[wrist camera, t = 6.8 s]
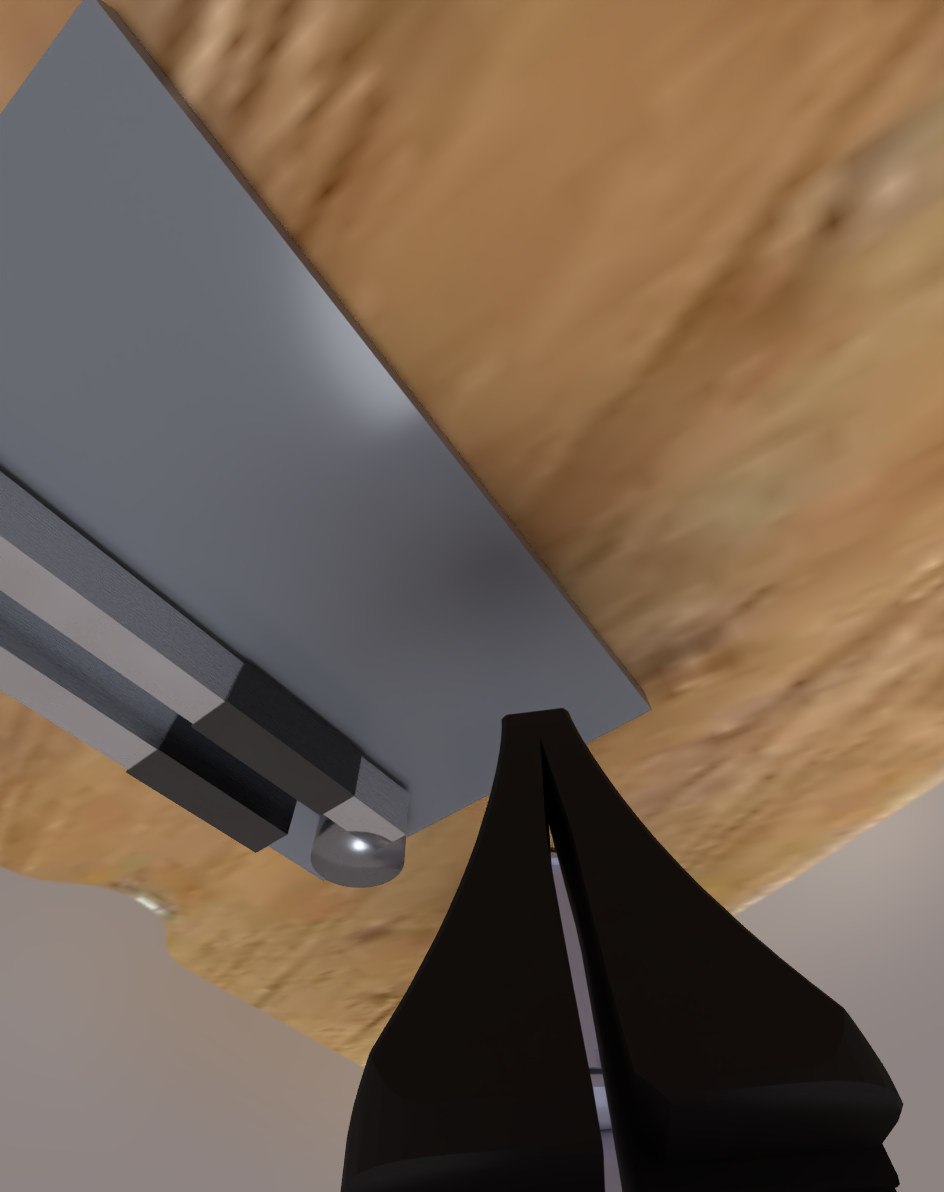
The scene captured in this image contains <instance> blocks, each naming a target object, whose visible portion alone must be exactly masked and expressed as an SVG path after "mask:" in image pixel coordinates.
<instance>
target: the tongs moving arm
mask: <svg viewBox="0 0 944 1192" xmlns="http://www.w3.org/2000/svg"><path fill="white" fill-rule="evenodd" d="M0 590H1V591H2V592H4V593H5V594H6V595H8V596H9V597H11V598H12V599H14V600H15V601H17V602H18V603H19V604H21V605H22V606H24V607H25V608H27V609H28V610H30V611H31V612H32V613H34V614H35V615H37V616H38V617H40V618H41V619H43V620H44V621H45V622H47V623H48V624H50V625H51V626H53V627H54V628H55V629H57V630H58V631H60V632H61V633H63V634H64V635H66V636H67V637H68V638H70V639H71V640H73V641H74V642H76V643H77V644H79V645H80V646H81V647H83V648H84V649H86V650H87V651H89V652H90V653H91V654H93V655H94V656H96V657H97V658H99V659H100V660H102V661H103V662H104V663H106V664H107V665H109V666H110V667H112V668H113V669H115V670H116V671H117V672H119V673H120V674H122V675H123V676H125V677H126V678H128V679H129V680H130V681H132V682H133V683H135V684H136V685H138V686H139V687H140V688H142V689H143V690H145V691H146V692H148V693H149V694H151V695H152V696H153V697H155V698H156V699H158V700H159V701H161V702H162V703H164V704H165V705H166V706H168V707H169V708H171V709H172V710H174V711H175V712H176V713H178V714H179V715H181V716H182V717H184V718H185V719H187V720H188V721H189V722H191V723H192V725H191V727H192V728H194V729H195V730H196V731H198V732H199V733H201V734H202V735H204V736H205V737H207V738H208V739H209V740H211V741H212V742H214V743H215V744H217V745H218V746H220V747H221V748H222V749H224V750H225V751H227V752H228V753H230V754H231V755H233V756H234V757H236V758H237V759H238V760H240V761H241V762H243V763H244V764H246V765H247V766H249V767H250V768H251V769H253V770H254V771H256V772H257V773H259V774H260V775H262V776H263V777H264V778H266V779H267V780H269V781H270V782H272V783H273V784H275V785H276V786H278V787H279V788H280V789H282V790H283V791H285V792H286V793H288V794H289V795H291V796H292V797H293V798H295V799H296V800H298V801H299V802H301V803H302V804H304V805H305V806H307V807H308V808H309V809H311V810H312V811H314V812H315V813H317V814H318V815H320V816H319V821H318V825H317V829H316V834H315V838H314V842H313V847H312V851H311V857H310V859H311V864H312V866H313V868H314V869H315V871H316V872H317V873H318V874H319V875H320V876H322V877H323V878H325V879H326V880H328V881H330V882H333V883H335V884H338V885H342V886H347V887H356V888H363V887H372V886H377V885H381V884H384V883H386V882H388V881H390V880H392V879H393V878H395V877H396V876H397V875H398V874H399V873H400V872H401V870H402V868H403V865H404V857H405V844H406V830H407V813H408V799H409V793H408V792H407V791H405V790H404V789H403V788H402V787H400V786H399V785H398V784H396V783H395V782H394V781H393V780H391V779H390V778H389V777H388V776H386V775H385V774H384V773H383V772H381V771H380V770H379V769H377V768H376V767H375V766H374V765H372V764H371V763H370V762H369V761H367V760H366V759H365V758H364V757H362V752H361V751H359V750H358V749H357V748H355V747H354V746H353V745H352V744H350V743H349V742H348V741H347V740H345V739H344V738H343V737H342V736H340V735H339V734H338V733H337V732H335V731H334V730H333V729H331V728H330V727H329V726H328V725H326V724H325V723H324V722H323V721H321V720H320V719H319V718H318V717H316V716H315V715H314V714H313V713H311V712H310V711H309V710H308V709H306V708H305V707H304V706H302V705H301V704H300V703H299V702H297V701H296V700H295V699H294V698H292V697H291V696H290V695H289V694H287V693H286V692H285V691H284V690H282V689H281V688H280V687H279V686H277V685H276V684H275V683H273V682H272V681H271V680H270V679H268V678H267V677H266V676H265V675H263V674H262V673H261V672H260V671H258V670H257V669H256V668H255V667H253V666H252V665H251V664H249V663H248V662H247V661H246V662H245V663H243V662H242V661H241V660H239V659H238V658H237V657H235V656H234V655H233V654H232V653H230V652H229V651H228V650H227V649H225V648H224V647H223V646H222V645H220V644H219V643H218V642H216V641H215V640H214V639H213V638H211V637H210V636H209V635H208V634H206V633H205V632H204V631H202V630H201V629H200V628H199V627H197V626H196V625H195V624H194V623H192V622H191V621H190V620H189V619H187V618H186V617H185V616H183V615H182V614H181V613H180V612H178V611H177V610H176V609H175V608H173V607H172V606H171V605H170V604H168V603H167V602H166V601H164V600H163V599H162V598H161V597H159V596H158V595H157V594H156V593H154V592H153V591H152V590H150V589H149V588H148V587H147V586H145V585H144V584H143V583H142V582H140V581H139V580H138V579H137V578H135V577H134V576H133V575H131V574H130V573H129V572H128V571H126V570H125V569H124V568H123V567H121V566H120V565H119V564H118V563H116V562H115V561H114V560H112V559H111V558H110V557H109V556H107V555H106V554H105V553H104V552H102V551H101V550H100V549H99V548H97V547H96V546H95V545H93V544H92V543H91V542H90V541H88V540H87V539H86V538H85V537H83V536H82V535H81V534H79V533H78V532H77V531H76V530H74V529H73V528H72V527H71V526H69V525H68V524H67V523H66V522H64V521H63V520H62V519H60V518H59V517H58V516H57V515H55V514H54V513H53V512H52V511H50V510H49V509H48V508H47V507H45V506H44V505H43V504H41V503H40V502H39V501H38V500H36V499H35V498H34V497H33V496H31V495H30V494H29V493H28V492H26V491H25V490H24V489H22V488H21V487H20V486H19V485H17V484H16V483H15V482H14V481H12V480H11V479H10V478H8V477H7V476H6V475H5V474H3V473H2V472H1V471H0Z"/></svg>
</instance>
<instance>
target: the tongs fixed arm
mask: <svg viewBox="0 0 944 1192" xmlns="http://www.w3.org/2000/svg"><path fill="white" fill-rule="evenodd" d="M0 690H1V691H3V692H4V693H6V694H8V695H9V696H11V697H12V698H14V699H16V700H17V701H19V702H21V703H22V704H24V705H25V706H27V707H29V708H30V709H32V710H33V711H35V712H37V713H38V714H40V715H41V716H43V717H45V718H46V719H48V720H49V721H51V722H53V723H54V724H56V725H57V726H59V727H61V728H62V729H64V730H65V731H67V732H69V733H70V734H72V735H73V736H75V737H77V738H78V739H80V740H81V741H83V742H85V743H86V744H88V745H89V746H91V747H93V748H94V749H96V750H97V751H99V752H101V753H102V754H104V755H105V756H107V757H109V758H110V759H112V760H113V761H115V762H117V763H118V764H120V765H121V766H123V767H125V768H126V769H128V770H127V771H126V773H128V774H130V775H131V776H133V777H135V778H136V779H138V780H139V781H141V782H143V783H144V784H146V785H147V786H149V787H151V788H152V789H154V790H155V791H157V792H159V793H160V794H162V795H164V796H165V797H167V798H168V799H170V800H172V801H173V802H175V803H176V804H178V805H180V806H181V807H183V808H184V809H186V810H188V811H189V812H191V813H193V814H194V815H196V816H197V817H199V818H201V819H202V820H204V821H205V822H207V823H209V824H210V825H212V826H213V827H215V828H217V829H218V830H220V831H222V832H223V833H225V834H226V835H228V836H230V837H231V838H233V839H234V840H236V841H238V842H239V843H241V844H243V845H244V846H246V847H247V848H249V849H251V850H252V851H254V852H255V853H256V852H258V851H260V850H262V849H263V848H265V847H267V846H269V845H270V844H272V843H274V842H276V841H277V840H279V839H281V838H283V837H284V836H286V835H288V831H289V828H290V824H291V821H292V817H293V814H294V810H295V806H296V803H297V800H296V799H295V798H293V797H292V796H291V795H289V794H288V793H286V792H285V791H283V790H282V789H280V788H279V787H278V786H276V785H275V784H273V783H272V782H270V781H269V780H267V779H266V778H264V777H263V776H262V775H260V774H259V773H257V772H256V771H254V770H253V769H251V768H250V767H249V766H247V765H246V764H244V763H243V762H241V761H240V760H238V759H237V758H236V757H234V756H233V755H231V754H230V753H228V752H227V751H225V750H224V749H222V748H221V747H220V746H218V745H217V744H215V743H214V742H212V741H211V740H209V739H208V738H207V737H205V736H204V735H202V734H201V733H199V732H198V731H196V730H195V729H194V728H192V727H191V725H192V723H191V722H189V721H188V720H187V719H185V718H184V717H182V716H181V715H179V714H178V713H176V712H175V711H174V710H172V709H171V708H169V707H168V706H166V705H165V704H164V703H162V702H161V701H159V700H158V699H156V698H155V697H153V696H152V695H151V694H149V693H148V692H146V691H145V690H143V689H142V688H140V687H139V686H138V685H136V684H135V683H133V682H132V681H130V680H129V679H128V678H126V677H125V676H123V675H122V674H120V673H119V672H117V671H116V670H115V669H113V668H112V667H110V666H109V665H107V664H106V663H104V662H103V661H102V660H100V659H99V658H97V657H96V656H94V655H93V654H91V653H90V652H89V651H87V650H86V649H84V648H83V647H81V646H80V645H79V644H77V643H76V642H74V641H73V640H71V639H70V638H68V637H67V636H66V635H64V634H63V633H61V632H60V631H58V630H57V629H55V628H54V627H53V626H51V625H50V624H48V623H47V622H45V621H44V620H43V619H41V618H40V617H38V616H37V615H35V614H34V613H32V612H31V611H30V610H28V609H27V608H25V607H24V606H22V605H21V604H19V603H18V602H17V601H15V600H14V599H12V598H11V597H9V596H8V595H6V594H5V593H4V592H2V591H1V590H0Z"/></svg>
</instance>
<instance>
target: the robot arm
mask: <svg viewBox="0 0 944 1192" xmlns="http://www.w3.org/2000/svg"><path fill="white" fill-rule="evenodd" d="M501 723H502V731H501V743H500V750H499V756H498V762H497V768H496V772H495V776H494V781H493V785H492V789H491V793H490V797H489V801H488V805H487V808H486V811H485V814H484V818H483V821H482V824H481V827H480V831H479V834H478V837H477V840H476V843H475V846H474V849H473V851H472V854H471V857H470V860H469V862H468V865H467V867H466V870H465V872H464V875H463V877H462V880H461V882H460V885H459V887H458V889H457V892H456V894H455V896H454V898H453V901H452V903H451V905H450V907H449V910H448V912H447V914H446V917H445V919H444V921H443V923H442V925H441V927H440V929H439V931H438V933H437V935H436V937H435V939H434V941H433V943H432V945H431V947H430V949H429V951H428V952H427V954H426V956H425V958H424V960H423V962H422V964H421V966H420V968H419V970H418V971H417V973H416V975H415V977H414V979H413V981H412V983H411V985H410V986H409V988H408V990H407V992H406V993H405V995H404V997H403V999H402V1000H401V1002H400V1003H399V1005H398V1007H397V1008H396V1010H395V1012H394V1013H393V1015H392V1017H391V1018H390V1020H389V1022H388V1023H387V1025H386V1027H385V1028H384V1030H383V1031H382V1033H381V1035H380V1036H379V1038H378V1040H377V1041H376V1043H375V1045H374V1046H373V1048H372V1050H371V1052H370V1054H369V1057H368V1060H367V1063H366V1066H365V1069H364V1072H363V1075H362V1079H361V1082H360V1085H359V1088H358V1092H357V1095H356V1099H355V1103H354V1107H353V1111H352V1115H351V1120H350V1126H349V1130H348V1135H347V1142H346V1150H345V1159H344V1168H343V1177H342V1185H341V1192H897V1191H896V1189H895V1187H898V1185H899V1184H900V1183H899V1179H898V1175H897V1173H896V1171H895V1169H894V1167H893V1165H892V1163H891V1161H890V1159H889V1157H888V1155H887V1152H886V1150H885V1148H884V1146H883V1144H882V1143H883V1141H884V1140H885V1139H886V1137H887V1136H888V1135H889V1133H890V1132H891V1130H892V1129H893V1127H894V1126H895V1125H896V1123H897V1122H898V1119H899V1116H900V1114H901V1111H902V1107H903V1103H902V1100H901V1098H900V1096H899V1094H898V1092H897V1090H896V1088H895V1086H894V1084H893V1082H892V1080H891V1078H890V1076H889V1074H888V1072H887V1071H886V1069H885V1067H884V1066H883V1064H882V1063H881V1061H880V1059H879V1058H878V1056H877V1055H876V1053H875V1052H874V1050H873V1049H872V1047H871V1046H870V1044H869V1043H868V1041H867V1040H866V1038H865V1037H864V1035H863V1034H862V1032H861V1031H860V1030H859V1028H858V1027H857V1025H856V1024H855V1023H854V1021H853V1020H852V1018H851V1017H850V1016H849V1014H848V1013H847V1012H846V1010H845V1009H844V1008H843V1007H842V1006H840V1005H839V1004H838V1003H837V1002H835V1001H834V1000H833V999H832V998H830V997H829V996H828V995H826V994H825V993H824V992H822V991H821V990H820V989H819V988H817V987H816V986H815V985H813V984H812V983H811V982H809V981H808V980H807V979H806V978H805V977H803V976H802V975H801V974H800V973H798V972H797V971H796V970H795V969H793V968H792V967H791V966H790V965H788V964H787V963H786V962H785V961H784V960H782V959H781V958H780V957H779V956H778V955H776V954H775V953H774V952H773V951H772V950H771V949H769V948H768V947H767V946H766V945H765V944H764V943H762V942H761V941H760V940H759V939H758V938H757V937H755V936H754V935H753V934H752V933H751V932H750V931H748V930H747V929H746V928H745V927H744V926H743V925H742V924H741V923H740V922H739V921H737V920H736V919H735V918H734V917H733V916H732V915H731V914H730V913H729V912H728V911H727V910H726V909H725V908H724V907H722V906H721V905H720V904H719V903H718V902H717V901H716V900H715V899H714V898H713V897H712V896H711V895H710V894H708V893H707V892H706V891H705V890H704V889H703V888H702V887H701V886H700V885H699V884H698V883H697V882H696V881H695V880H694V879H693V878H692V877H691V876H690V875H689V874H688V873H687V872H686V871H685V870H684V869H683V868H682V867H681V865H680V864H679V863H678V862H677V861H676V860H675V859H674V858H673V857H672V856H671V855H670V854H669V853H668V852H667V850H666V849H665V848H664V847H663V846H662V845H661V844H660V843H659V842H658V841H657V839H656V838H655V837H654V836H653V835H652V834H651V832H650V831H649V830H648V829H647V828H646V827H645V825H644V824H643V823H642V822H641V821H640V819H639V818H638V817H637V816H636V814H635V813H634V812H633V811H632V809H631V808H630V807H629V806H628V804H627V803H626V802H625V800H624V799H623V798H622V797H621V795H620V794H619V793H618V791H617V790H616V789H615V787H614V786H613V784H612V783H611V781H610V780H609V779H608V777H607V776H606V774H605V773H604V772H603V770H602V769H601V767H600V766H599V764H598V763H597V761H596V760H595V758H594V757H593V755H592V754H591V752H590V751H589V749H588V747H587V746H586V744H585V743H584V741H583V739H582V737H581V736H580V734H579V732H578V730H577V728H576V727H575V725H574V723H573V721H572V719H571V716H570V714H569V712H568V711H567V710H566V709H564V708H557V709H549V710H541V711H533V712H525V713H517V714H508V715H505V716H504V717H503V718H502V719H501ZM549 827H550V830H551V834H552V838H553V842H554V846H555V850H556V852H551V849H550V835H549Z"/></svg>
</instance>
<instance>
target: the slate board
mask: <svg viewBox="0 0 944 1192" xmlns="http://www.w3.org/2000/svg"><path fill="white" fill-rule="evenodd" d="M0 471H1V472H2V473H3V474H5V475H6V476H7V477H8V478H10V479H11V480H12V481H14V482H15V483H16V484H17V485H19V486H20V487H21V488H22V489H24V490H25V491H26V492H28V493H29V494H30V495H31V496H33V497H34V498H35V499H36V500H38V501H39V502H40V503H41V504H43V505H44V506H45V507H47V508H48V509H49V510H50V511H52V512H53V513H54V514H55V515H57V516H58V517H59V518H60V519H62V520H63V521H64V522H66V523H67V524H68V525H69V526H71V527H72V528H73V529H74V530H76V531H77V532H78V533H79V534H81V535H82V536H83V537H85V538H86V539H87V540H88V541H90V542H91V543H92V544H93V545H95V546H96V547H97V548H99V549H100V550H101V551H102V552H104V553H105V554H106V555H107V556H109V557H110V558H111V559H112V560H114V561H115V562H116V563H118V564H119V565H120V566H121V567H123V568H124V569H125V570H126V571H128V572H129V573H130V574H131V575H133V576H134V577H135V578H137V579H138V580H139V581H140V582H142V583H143V584H144V585H145V586H147V587H148V588H149V589H150V590H152V591H153V592H154V593H156V594H157V595H158V596H159V597H161V598H162V599H163V600H164V601H166V602H167V603H168V604H170V605H171V606H172V607H173V608H175V609H176V610H177V611H178V612H180V613H181V614H182V615H183V616H185V617H186V618H187V619H189V620H190V621H191V622H192V623H194V624H195V625H196V626H197V627H199V628H200V629H201V630H202V631H204V632H205V633H206V634H208V635H209V636H210V637H211V638H213V639H214V640H215V641H216V642H218V643H219V644H220V645H222V646H223V647H224V648H225V649H227V650H228V651H229V652H230V653H232V654H233V655H234V656H235V657H237V658H238V659H239V660H241V661H242V662H243V663H245V662H246V661H247V662H248V663H249V664H251V665H252V666H253V667H255V668H256V669H257V670H258V671H260V672H261V673H262V674H263V675H265V676H266V677H267V678H268V679H270V680H271V681H272V682H273V683H275V684H276V685H277V686H279V687H280V688H281V689H282V690H284V691H285V692H286V693H287V694H289V695H290V696H291V697H292V698H294V699H295V700H296V701H297V702H299V703H300V704H301V705H302V706H304V707H305V708H306V709H308V710H309V711H310V712H311V713H313V714H314V715H315V716H316V717H318V718H319V719H320V720H321V721H323V722H324V723H325V724H326V725H328V726H329V727H330V728H331V729H333V730H334V731H335V732H337V733H338V734H339V735H340V736H342V737H343V738H344V739H345V740H347V741H348V742H349V743H350V744H352V745H353V746H354V747H355V748H357V749H358V750H359V751H361V752H362V757H364V758H365V759H366V760H367V761H369V762H370V763H371V764H372V765H374V766H375V767H376V768H377V769H379V770H380V771H381V772H383V773H384V774H385V775H386V776H388V777H389V778H390V779H391V780H393V781H394V782H395V783H396V784H398V785H399V786H400V787H402V788H403V789H404V790H405V791H407V792H408V793H409V799H408V813H407V830H406V837H408V836H410V835H412V834H414V833H416V832H418V831H420V830H422V829H424V828H426V827H428V826H429V825H431V824H433V823H435V822H437V821H439V820H441V819H443V818H445V817H447V816H449V815H451V814H452V813H454V812H456V811H458V810H460V809H462V808H464V807H466V806H468V805H470V804H472V803H474V802H475V801H477V800H479V799H481V798H483V797H485V796H487V795H489V794H490V793H491V789H492V785H493V781H494V776H495V772H496V768H497V762H498V756H499V750H500V743H501V731H502V723H501V719H502V718H503V717H504V716H505V715H508V714H517V713H525V712H533V711H541V710H549V709H557V708H564V709H566V710H567V711H568V712H569V714H570V716H571V719H572V721H573V723H574V725H575V727H576V728H577V730H578V732H579V734H580V736H581V737H582V739H583V741H584V743H585V744H587V743H589V742H591V741H592V740H594V739H596V738H598V737H600V736H602V735H604V734H606V733H608V732H610V731H612V730H614V729H615V728H617V727H619V726H621V725H623V724H625V723H627V722H629V721H631V720H633V719H635V718H637V717H638V716H640V715H642V714H644V713H646V712H648V711H650V710H652V709H651V707H650V705H649V702H648V700H647V698H646V695H645V693H644V692H643V690H642V689H641V688H640V687H639V685H638V684H637V683H636V681H635V680H634V679H633V678H632V676H631V675H630V674H629V672H628V671H627V670H626V669H625V667H624V666H623V665H622V663H621V662H620V661H619V659H618V658H617V657H616V656H615V654H614V653H613V652H612V650H611V649H610V648H609V647H608V645H607V644H606V643H605V641H604V640H603V639H602V638H601V636H600V635H599V634H598V632H597V631H596V630H595V629H594V627H593V626H592V625H591V623H590V622H589V621H588V620H587V618H586V617H585V616H584V614H583V613H582V612H581V610H580V609H579V608H578V607H577V605H576V604H575V603H574V601H573V600H572V599H571V598H570V596H569V595H568V594H567V592H566V591H565V590H564V589H563V587H562V586H561V585H560V583H559V582H558V581H557V580H556V578H555V577H554V576H553V574H552V573H551V572H550V571H549V569H548V568H547V567H546V565H545V564H544V563H543V562H542V560H541V559H540V558H539V556H538V555H537V554H536V552H535V551H534V550H533V549H532V547H531V546H530V545H529V543H528V542H527V541H526V540H525V538H524V537H523V536H522V534H521V533H520V532H519V531H518V529H517V528H516V527H515V525H514V524H513V523H512V522H511V520H510V519H509V518H508V516H507V515H506V514H505V513H504V511H503V510H502V509H501V507H500V506H499V505H498V503H497V502H496V501H495V500H494V498H493V497H492V496H491V494H490V493H489V492H488V491H487V489H486V488H485V487H484V485H483V484H482V483H481V482H480V480H479V479H478V478H477V476H476V475H475V474H474V473H473V471H472V470H471V469H470V467H469V466H468V465H467V464H466V462H465V461H464V460H463V458H462V457H461V456H460V454H459V453H458V452H457V451H456V449H455V448H454V447H453V445H452V444H451V443H450V442H449V440H448V439H447V438H446V436H445V435H444V434H443V433H442V431H441V430H440V429H439V427H438V426H437V425H436V424H435V422H434V421H433V420H432V418H431V417H430V416H429V415H428V413H427V412H426V411H425V409H424V408H423V407H422V406H421V404H420V403H419V402H418V400H417V399H416V398H415V396H414V395H413V394H412V393H411V391H410V390H409V389H408V387H407V386H406V385H405V384H404V382H403V381H402V380H401V378H400V377H399V376H398V375H397V373H396V372H395V371H394V369H393V368H392V367H391V366H390V364H389V363H388V362H387V360H386V359H385V358H384V357H383V355H382V354H381V353H380V351H379V350H378V349H377V347H376V346H375V345H374V344H373V342H372V341H371V340H370V338H369V337H368V336H367V335H366V333H365V332H364V331H363V329H362V328H361V327H360V326H359V324H358V323H357V322H356V320H355V319H354V318H353V317H352V315H351V314H350V313H349V311H348V310H347V309H346V308H345V306H344V305H343V304H342V302H341V301H340V300H339V298H338V297H337V296H336V295H335V293H334V292H333V291H332V289H331V288H330V287H329V286H328V284H327V283H326V282H325V280H324V279H323V278H322V277H321V275H320V274H319V273H318V271H317V270H316V269H315V268H314V266H313V265H312V264H311V262H310V261H309V260H308V259H307V257H306V256H305V255H304V253H303V252H302V251H301V250H300V248H299V247H298V246H297V244H296V243H295V242H294V240H293V239H292V238H291V237H290V235H289V234H288V233H287V231H286V230H285V229H284V228H283V226H282V225H281V224H280V222H279V221H278V220H277V219H276V217H275V216H274V215H273V213H272V212H271V211H270V210H269V208H268V207H267V206H266V204H265V203H264V202H263V201H262V199H261V198H260V197H259V195H258V194H257V193H256V191H255V190H254V189H253V188H252V186H251V185H250V184H249V182H248V181H247V180H246V179H245V177H244V176H243V175H242V173H241V172H240V171H239V170H238V168H237V167H236V166H235V164H234V163H233V162H232V161H231V159H230V158H229V157H228V155H227V154H226V153H225V152H224V150H223V149H222V148H221V146H220V145H219V144H218V143H217V141H216V140H215V139H214V137H213V136H212V135H211V133H210V132H209V131H208V130H207V128H206V127H205V126H204V124H203V123H202V122H201V121H200V119H199V118H198V117H197V115H196V114H195V113H194V112H193V110H192V109H191V108H190V106H189V105H188V104H187V103H186V101H185V100H184V99H183V97H182V96H181V95H180V94H179V92H178V91H177V90H176V88H175V87H174V86H173V84H172V83H171V82H170V81H169V79H168V78H167V77H166V75H165V74H164V73H163V72H162V70H161V69H160V68H159V66H158V65H157V64H156V63H155V61H154V60H153V59H152V57H151V56H150V55H149V54H148V52H147V51H146V50H145V48H144V47H143V46H142V45H141V43H140V42H139V41H138V39H137V38H136V37H135V35H134V34H133V33H132V32H131V30H130V29H129V28H128V26H127V25H126V24H125V23H124V21H123V20H122V19H121V17H120V16H119V15H118V14H117V12H116V11H115V10H114V9H113V8H112V7H110V6H109V5H107V4H106V3H105V2H103V1H102V0H83V1H82V2H81V4H80V5H79V7H78V8H77V9H76V11H75V12H74V14H73V15H72V16H71V18H70V19H69V20H68V22H67V23H66V25H65V26H64V27H63V29H62V30H61V31H60V33H59V34H58V36H57V37H56V38H55V40H54V41H53V43H52V44H51V45H50V47H49V48H48V49H47V51H46V52H45V54H44V55H43V56H42V58H41V59H40V60H39V62H38V63H37V65H36V66H35V67H34V69H33V70H32V72H31V73H30V74H29V76H28V77H27V78H26V80H25V81H24V83H23V84H22V85H21V87H20V88H19V89H18V91H17V92H16V94H15V95H14V96H13V98H12V99H11V101H10V102H9V103H8V105H7V106H6V107H5V109H4V110H3V112H2V113H1V114H0ZM319 816H320V815H318V814H317V813H315V812H314V811H312V810H311V809H309V808H308V807H307V806H305V805H304V804H302V803H301V802H299V801H298V800H297V803H296V806H295V810H294V814H293V817H292V821H291V824H290V828H289V831H288V835H286V836H284V837H283V838H281V839H279V840H277V841H276V842H274V843H272V844H270V845H269V847H271V848H273V849H274V850H276V851H277V852H279V853H280V854H282V855H284V856H285V857H287V858H288V859H290V860H291V861H293V862H295V863H296V864H298V865H299V866H301V867H303V868H304V869H306V870H307V871H309V872H310V873H312V874H314V875H315V876H317V877H318V878H320V879H321V880H323V881H324V880H326V879H325V878H323V877H322V876H320V875H319V874H318V873H317V872H316V871H315V869H314V868H313V866H312V864H311V859H310V857H311V851H312V847H313V842H314V838H315V834H316V829H317V825H318V821H319Z"/></svg>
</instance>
